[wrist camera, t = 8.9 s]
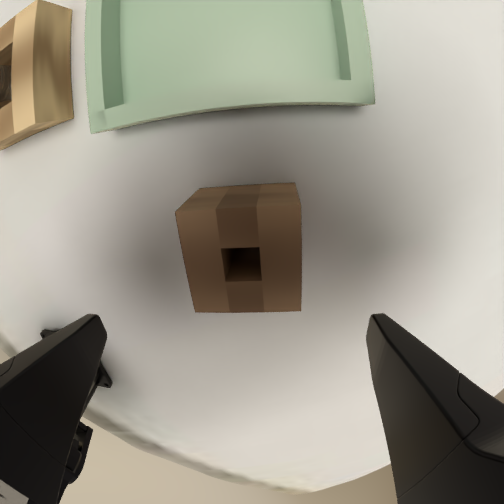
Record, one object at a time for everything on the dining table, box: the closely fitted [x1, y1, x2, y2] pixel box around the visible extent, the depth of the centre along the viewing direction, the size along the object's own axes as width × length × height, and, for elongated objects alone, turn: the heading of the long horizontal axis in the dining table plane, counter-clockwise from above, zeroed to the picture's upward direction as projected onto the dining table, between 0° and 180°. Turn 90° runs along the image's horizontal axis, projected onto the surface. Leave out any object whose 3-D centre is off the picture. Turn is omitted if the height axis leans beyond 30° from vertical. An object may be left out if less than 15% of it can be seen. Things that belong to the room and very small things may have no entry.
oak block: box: [0, 0, 74, 150], centre depth 11 cm, size 8×8×4 cm
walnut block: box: [175, 183, 302, 313], centre depth 14 cm, size 5×5×4 cm
